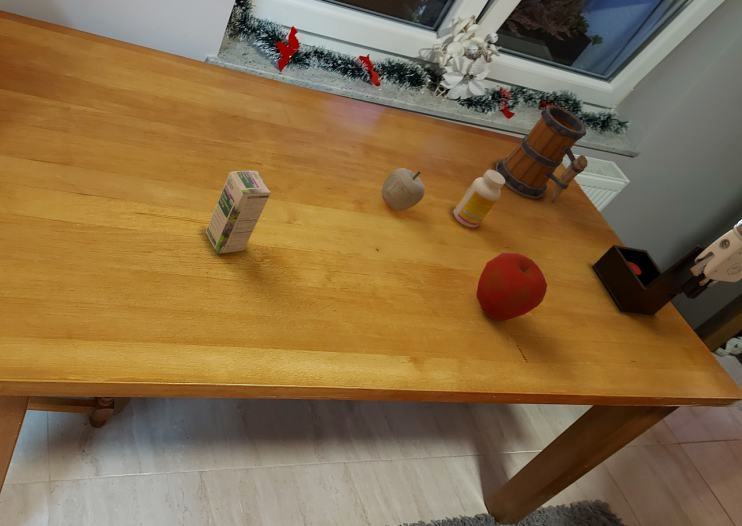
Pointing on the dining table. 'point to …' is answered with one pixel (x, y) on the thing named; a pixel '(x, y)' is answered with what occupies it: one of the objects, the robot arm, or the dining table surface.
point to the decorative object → (402, 189)
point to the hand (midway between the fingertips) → (686, 293)
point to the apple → (510, 286)
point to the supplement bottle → (479, 199)
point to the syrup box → (237, 211)
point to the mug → (545, 155)
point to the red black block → (635, 268)
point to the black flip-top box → (631, 280)
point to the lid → (676, 273)
